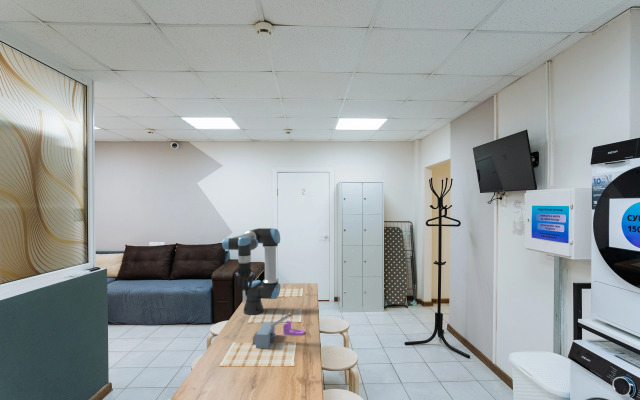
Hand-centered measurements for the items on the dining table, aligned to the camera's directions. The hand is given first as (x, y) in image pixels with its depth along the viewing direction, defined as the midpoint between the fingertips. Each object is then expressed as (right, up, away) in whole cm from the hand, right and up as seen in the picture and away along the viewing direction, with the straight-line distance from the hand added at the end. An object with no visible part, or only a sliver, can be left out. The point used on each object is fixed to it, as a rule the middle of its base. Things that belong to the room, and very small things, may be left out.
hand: (244, 300), depth 184 cm
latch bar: (+23, -12, -2) cm, 27 cm away
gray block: (+13, -24, -1) cm, 27 cm away
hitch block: (+13, -24, -1) cm, 28 cm away
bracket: (+30, -25, +10) cm, 40 cm away
